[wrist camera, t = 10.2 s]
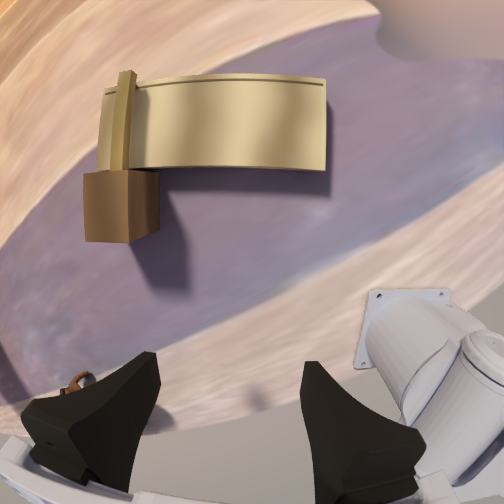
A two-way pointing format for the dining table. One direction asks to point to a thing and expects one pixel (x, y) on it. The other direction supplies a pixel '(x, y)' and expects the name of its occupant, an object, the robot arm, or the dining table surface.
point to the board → (222, 123)
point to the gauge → (121, 183)
